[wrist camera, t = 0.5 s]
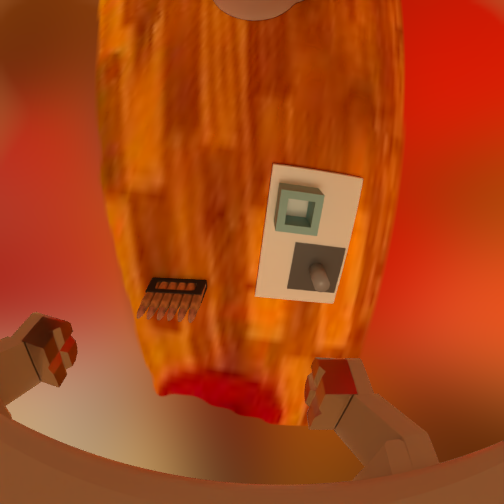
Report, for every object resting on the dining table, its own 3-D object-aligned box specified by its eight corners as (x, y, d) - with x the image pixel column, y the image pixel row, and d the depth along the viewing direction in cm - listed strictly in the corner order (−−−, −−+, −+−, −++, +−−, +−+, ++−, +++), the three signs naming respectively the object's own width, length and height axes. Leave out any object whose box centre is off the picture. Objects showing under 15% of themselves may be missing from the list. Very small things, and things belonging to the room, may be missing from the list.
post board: (272, 163, 48) (275, 170, 41) (360, 177, 48) (376, 186, 41) (255, 292, 57) (254, 315, 51) (331, 299, 58) (339, 322, 51)
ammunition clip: (206, 279, 57) (195, 317, 46) (207, 288, 57) (196, 327, 46) (152, 277, 57) (131, 312, 46) (153, 285, 57) (133, 322, 47)
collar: (279, 182, 48) (281, 189, 43) (318, 188, 48) (324, 195, 43) (273, 220, 50) (275, 231, 46) (311, 225, 50) (317, 236, 46)
